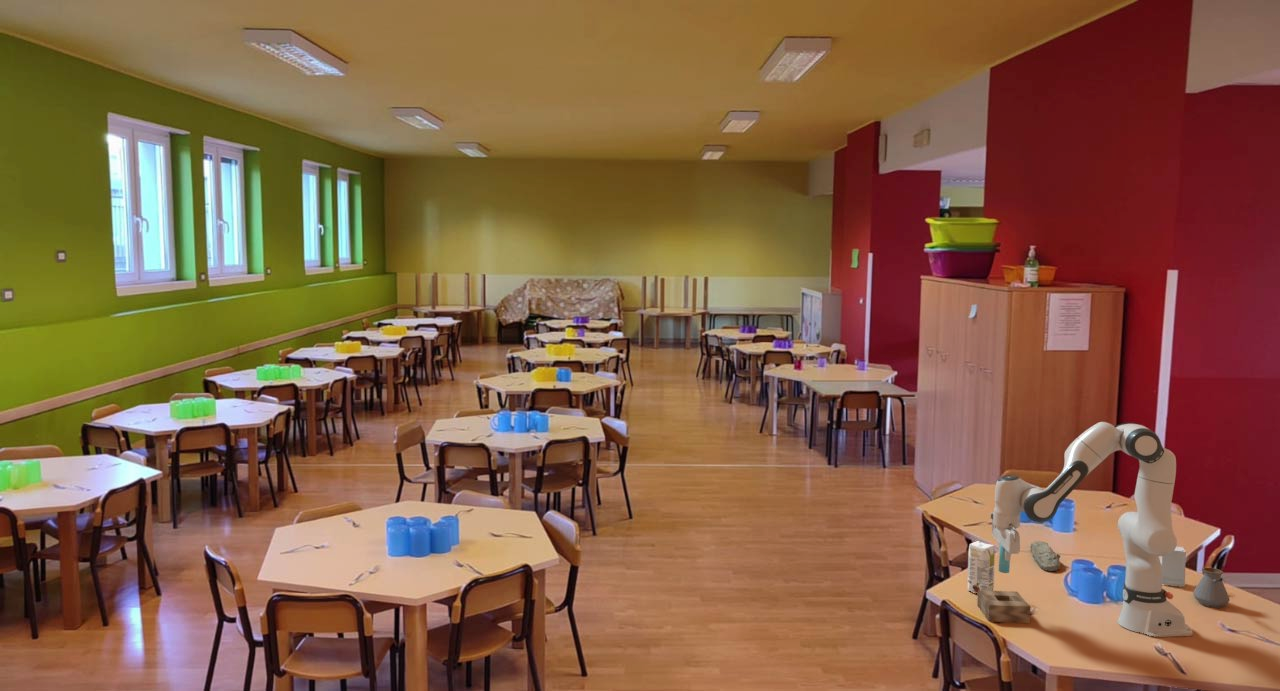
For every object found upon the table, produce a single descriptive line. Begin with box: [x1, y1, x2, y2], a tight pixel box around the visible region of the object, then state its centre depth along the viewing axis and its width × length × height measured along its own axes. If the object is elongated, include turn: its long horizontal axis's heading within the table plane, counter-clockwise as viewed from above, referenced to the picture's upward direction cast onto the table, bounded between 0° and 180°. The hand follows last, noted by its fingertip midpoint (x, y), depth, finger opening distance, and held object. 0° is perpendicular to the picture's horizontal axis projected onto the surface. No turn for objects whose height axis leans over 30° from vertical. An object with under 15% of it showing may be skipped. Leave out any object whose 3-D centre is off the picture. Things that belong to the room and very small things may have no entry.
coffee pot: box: [1192, 567, 1231, 609], centre depth 316 cm, size 21×12×15 cm, turn 156°
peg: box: [998, 539, 1011, 574], centre depth 310 cm, size 4×4×12 cm
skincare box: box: [1159, 546, 1187, 588], centre depth 340 cm, size 8×6×15 cm
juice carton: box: [967, 540, 996, 595], centre depth 332 cm, size 8×9×19 cm
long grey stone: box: [1030, 540, 1061, 572], centre depth 370 cm, size 35×5×10 cm
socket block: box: [976, 590, 1031, 624], centre depth 311 cm, size 14×14×6 cm
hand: (1004, 557), depth 310 cm, fingers closed on peg, 4 cm apart
